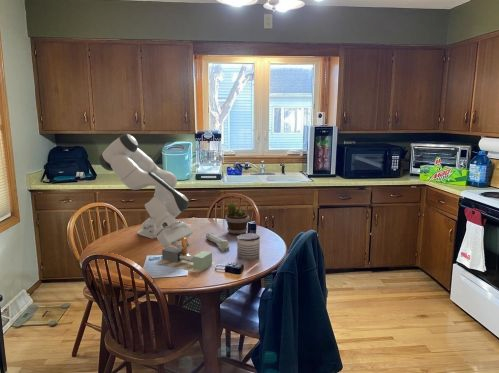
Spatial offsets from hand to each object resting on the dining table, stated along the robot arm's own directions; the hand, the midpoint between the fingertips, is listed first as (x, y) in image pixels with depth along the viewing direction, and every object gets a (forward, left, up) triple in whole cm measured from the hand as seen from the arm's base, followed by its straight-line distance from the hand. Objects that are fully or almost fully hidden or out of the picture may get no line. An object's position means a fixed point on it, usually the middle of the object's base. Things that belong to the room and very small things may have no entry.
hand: (185, 247), depth 180 cm
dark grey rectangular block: (-8, 0, -7) cm, 11 cm away
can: (+22, +22, -9) cm, 32 cm away
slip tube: (-3, 0, -6) cm, 7 cm away
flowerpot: (-3, +55, -9) cm, 56 cm away
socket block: (+10, 0, -7) cm, 12 cm away
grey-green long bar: (-1, +30, -9) cm, 31 cm away
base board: (0, 0, -8) cm, 8 cm away
